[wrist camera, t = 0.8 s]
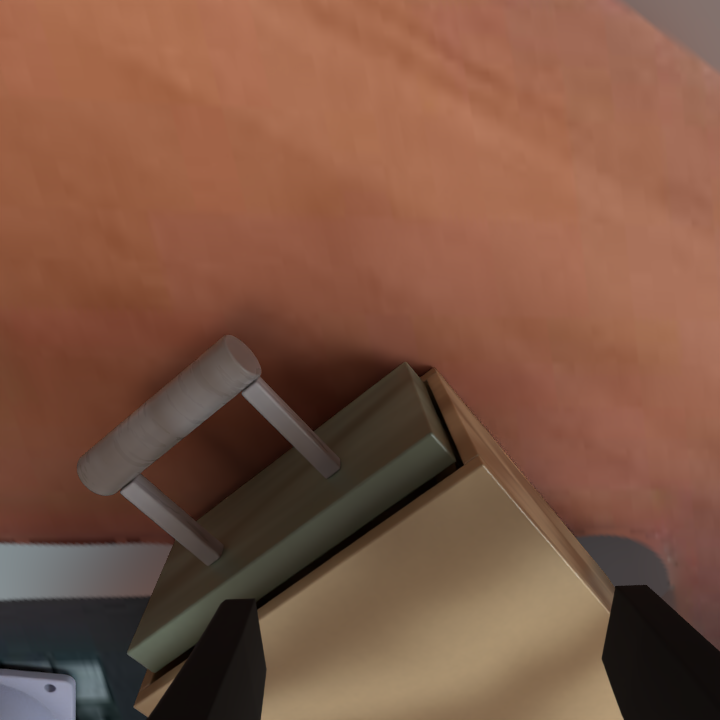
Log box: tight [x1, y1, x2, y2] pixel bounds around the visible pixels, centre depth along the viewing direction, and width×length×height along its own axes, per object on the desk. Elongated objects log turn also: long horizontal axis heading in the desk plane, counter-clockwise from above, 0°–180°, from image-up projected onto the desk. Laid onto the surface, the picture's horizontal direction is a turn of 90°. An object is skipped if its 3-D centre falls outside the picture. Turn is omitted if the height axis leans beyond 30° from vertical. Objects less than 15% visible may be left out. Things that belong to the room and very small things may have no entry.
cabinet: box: [134, 368, 624, 720], centre depth 20 cm, size 14×13×7 cm
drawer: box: [77, 335, 464, 673], centre depth 18 cm, size 18×12×6 cm, turn 39°
